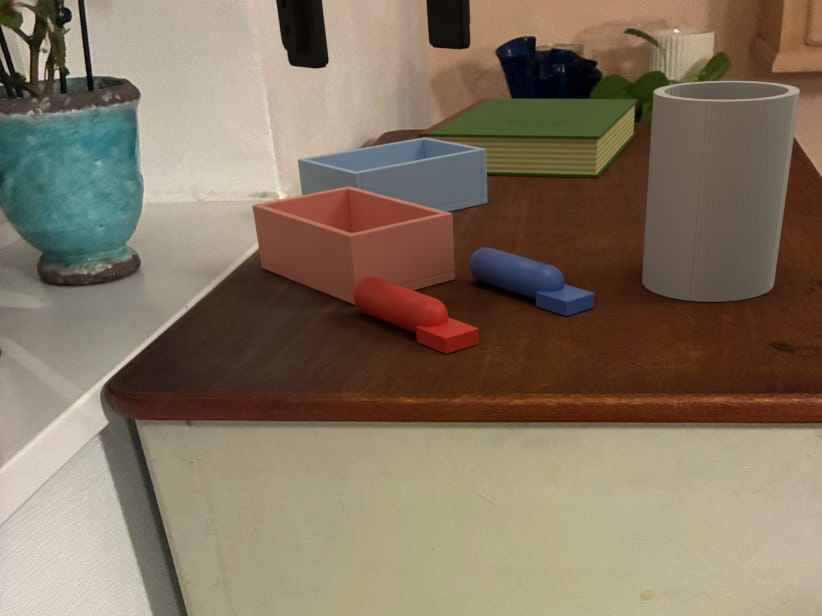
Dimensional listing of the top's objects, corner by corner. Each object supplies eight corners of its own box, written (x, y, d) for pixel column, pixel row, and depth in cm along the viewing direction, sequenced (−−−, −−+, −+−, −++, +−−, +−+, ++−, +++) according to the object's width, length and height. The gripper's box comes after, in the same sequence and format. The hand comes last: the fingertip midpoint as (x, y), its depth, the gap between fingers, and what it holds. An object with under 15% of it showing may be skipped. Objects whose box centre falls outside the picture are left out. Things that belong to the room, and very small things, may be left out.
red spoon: (347, 313, 68) (343, 277, 67) (378, 305, 70) (375, 269, 68) (446, 354, 61) (444, 314, 60) (479, 343, 63) (477, 305, 61)
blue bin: (360, 231, 86) (354, 173, 84) (304, 214, 92) (297, 159, 90) (487, 203, 94) (486, 148, 91) (428, 188, 100) (425, 137, 97)
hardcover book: (483, 132, 124) (482, 98, 122) (635, 134, 120) (637, 99, 118) (418, 174, 105) (415, 135, 103) (596, 179, 100) (597, 137, 98)
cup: (621, 291, 70) (630, 97, 63) (671, 258, 77) (685, 78, 70) (748, 308, 66) (773, 104, 60) (790, 272, 73) (817, 83, 66)
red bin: (261, 268, 78) (251, 205, 75) (355, 246, 82) (349, 185, 80) (356, 305, 70) (349, 236, 67) (455, 279, 74) (452, 213, 71)
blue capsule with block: (462, 282, 73) (461, 248, 72) (490, 275, 75) (489, 241, 73) (566, 316, 66) (566, 279, 65) (594, 307, 68) (595, 271, 66)
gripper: (442, -332, 54) (460, 39, 64) (138, -365, 45) (213, 70, 55) (537, -363, 49) (540, 44, 59) (215, -406, 40) (282, 79, 50)
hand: (382, 56), depth 57 cm, fingers open, 9 cm apart
